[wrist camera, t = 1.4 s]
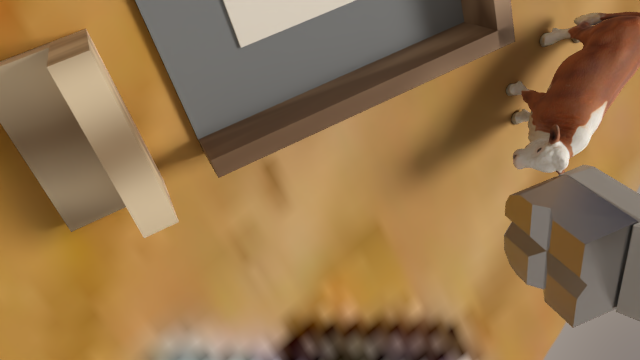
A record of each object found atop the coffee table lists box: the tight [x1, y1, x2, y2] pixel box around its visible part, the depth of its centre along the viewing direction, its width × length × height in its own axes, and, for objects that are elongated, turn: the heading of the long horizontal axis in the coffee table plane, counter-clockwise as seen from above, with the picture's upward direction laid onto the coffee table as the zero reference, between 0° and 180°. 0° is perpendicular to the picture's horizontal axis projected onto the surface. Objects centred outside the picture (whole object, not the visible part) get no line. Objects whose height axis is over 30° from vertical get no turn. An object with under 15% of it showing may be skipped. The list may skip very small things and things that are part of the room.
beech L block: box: [0, 29, 179, 238], centre depth 30 cm, size 10×6×6 cm, turn 17°
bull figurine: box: [506, 12, 640, 175], centre depth 40 cm, size 4×13×8 cm, turn 137°
